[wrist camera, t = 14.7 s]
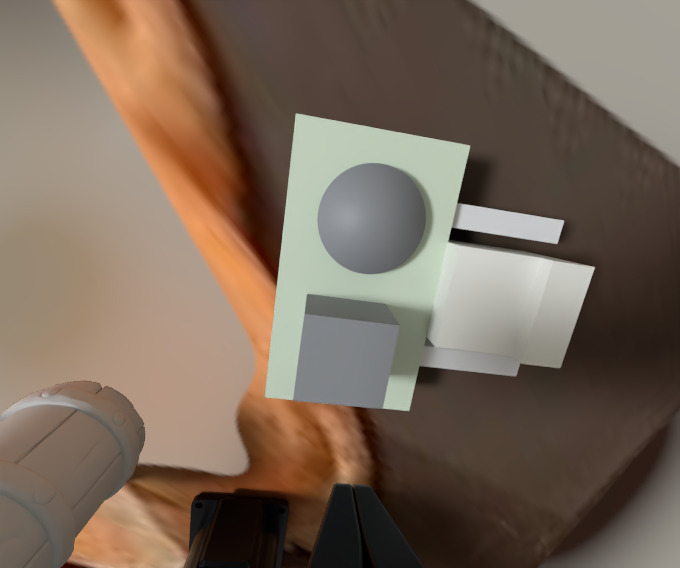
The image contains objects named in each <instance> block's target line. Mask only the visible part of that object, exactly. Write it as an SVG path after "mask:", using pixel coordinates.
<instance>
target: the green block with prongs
mask: <svg viewBox="0 0 680 568" xmlns="http://www.w3.org/2000/svg"><path fill="white" fill-rule="evenodd" d="M469 149H470V145H464V144H459V143H453V142H448V141H442V140H437V139H432V138H426V137H421V136H415V135H410V134H405V133H399V132H394V131H388V130H383V129H377V128H372V127H367V126H361V125H356V124H350V123H345V122H340V121H334V120H329V119H323V118H318V117H312V116H307V115H302V114H296V118H295V128H294V137H293V146H292V155H291V164H290V173H289V182H288V191H287V200H286V209H285V218H284V227H283V236H282V245H281V255H280V264H279V273H278V282H277V291H276V300H275V309H274V318H273V327H272V336H271V345H270V354H269V363H268V373H267V382H266V391H265V397H267V398H278V399H288V400H293V401H303V402H314V403H325V404H335V405H346V406H356V407H367V408H378V409H383V408H384V409H394V410H405V411H409V409H410V405H411V400H412V396H413V392H414V387H415V383H416V379H417V374H418V370H419V366H425V367H435V368H444V369H453V370H462V371H471V372H480V373H489V374H498V375H508V376H516V375H517V372H518V369H519V365H520V362H519V361H517V360H516V359H515V358H514V357H512V356H506V355H498V354H490V353H481V352H473V351H464V350H456V349H447V348H439V347H435V346H434V345H433V344H432V343H431V341H430V340H429V339H428V338H427V337H426V335H427V331H428V327H429V322H430V318H431V314H432V309H433V305H434V301H435V296H436V292H437V288H438V283H439V279H440V275H441V270H442V266H443V262H444V257H445V253H446V249H447V245H448V240H449V236H450V232H451V227H452V228H458V229H465V230H471V231H477V232H484V233H490V234H497V235H503V236H509V237H516V238H522V239H529V240H535V241H541V242H548V243H554V244H557V243H558V240H559V237H560V234H561V230H562V227H563V224H564V221H563V220H557V219H551V218H545V217H539V216H533V215H527V214H520V213H514V212H508V211H502V210H496V209H490V208H484V207H478V206H472V205H466V204H460V203H457V201H458V197H459V193H460V188H461V184H462V180H463V175H464V171H465V167H466V162H467V158H468V154H469Z"/></svg>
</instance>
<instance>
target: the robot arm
mask: <svg viewBox="0 0 680 568" xmlns="http://www.w3.org/2000/svg"><path fill="white" fill-rule="evenodd" d="M199 502H200V503H199ZM288 514H289V502H288V501H287V500H284V499H269V498H253V497H237V496H221V495H205V494H199V495H197V496H195V497H194V500H193V502H192V505H191V523H190V541H189V554H188V557H187V559H186V562H185V565H184V567H183V568H281V563H282V556H283V549H284V542H285V535H286V528H287V521H288ZM307 568H424V566H423V565H422V563H421V562H420V560H419V559H418V557H417V556H416V554H415V553H414V551H413V550H412V548H411V547H410V545H409V544H408V542H407V541H406V539H405V538H404V536H403V535H402V533H401V532H400V530H399V529H398V527H397V526H396V524H395V523H394V521H393V520H392V518H391V516H390V515H389V513H388V512H387V510H386V509H385V507H384V506H383V504H382V503H381V501H380V500H379V498H378V497H377V495H376V494H375V492H374V491H373V489H372V488H371V487H370V486H368V485H353V486H351V485H350V484H339V483H336V484H334V486H333V488H332V491H331V494H330V497H329V501H328V504H327V507H326V510H325V513H324V516H323V519H322V522H321V525H320V529H319V532H318V535H317V538H316V541H315V544H314V547H313V550H312V553H311V556H310V560H309V563H308V566H307Z"/></svg>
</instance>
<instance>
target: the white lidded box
mask: <svg viewBox="0 0 680 568" xmlns="http://www.w3.org/2000/svg"><path fill="white" fill-rule="evenodd" d="M594 269H595V267H592V266H588V265H583V264H579V263H574V262H570V261H566V260H561V259H557V258H552V257H548V256H543V255H539V254H535V253H530V252H526V251H521V250H514V249H507V248H501V247H494V246H488V245H481V244H475V243H468V242H462V241H455V240H448V245H447V249H446V253H445V257H444V262H443V266H442V270H441V275H440V279H439V283H438V288H437V292H436V296H435V301H434V305H433V309H432V314H431V318H430V322H429V327H428V331H427V335H426V337H427V338H428V339H429V340H430V341H431V343H432V344H433V345H434V346H435V347H439V348H447V349H456V350H464V351H473V352H481V353H490V354H498V355H506V356H512V357H514V358H515V359H516V360H517V361H519V362H520V363H521V364H527V365H536V366H545V367H553V368H561V365H562V362H563V359H564V356H565V353H566V350H567V347H568V345H569V342H570V339H571V336H572V333H573V330H574V327H575V324H576V321H577V318H578V315H579V312H580V310H581V307H582V304H583V301H584V298H585V295H586V292H587V289H588V286H589V283H590V280H591V277H592V275H593V272H594Z"/></svg>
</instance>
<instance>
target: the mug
mask: <svg viewBox="0 0 680 568" xmlns="http://www.w3.org/2000/svg"><path fill="white" fill-rule="evenodd" d="M143 425H144V423H143V420H142V419H141V418H140V416H139V415H138V413H137V412H136V410H135V409H134V407H133V405H132V403H131V402H130V401H129V400H128V399H127V398H126V397H125V396H124V395H122V394H121V393H119V392H118V391H116V390H114V389H113V388H110V387H108V386H105V387H104V388H103V389H102V387H101V385H100V384H99V383H96V382H90V381H74V382H67V383H62V384H57V385H54V386H51V387H49V388H48V389H44V390H40V391H37V392H34V393H32V394H30V395H27V396H25V397H24V398H22V399H20V400H19V401H17V402H16V403H14V404H13V405H12V406H10V407H9V408H7V409H6V410H5V411H4V412H3V413H2V414H1V415H0V568H60V567H61V566H63V565H64V564H65V562H66V561H67V560H68V559H69V557H70V556H71V554H72V552H73V550H74V541H75V538H76V537H77V535H78V534H79V533H80V531H81V530H82V529H83V528H84V526H85V525H86V524H87V522H88V521H89V520H90V518H91V517H92V516H93V515H94V513H95V512H96V511H97V509H98V508H99V507H100V506H101V504H102V503H103V502H104V501H105V500H107V499H108V498H110V497H112V496H113V495H114V494H116V493H117V492H118V491H119V490H120V489H121V488H122V487H123V486H124V485H125V483H126V482H127V480H129V478H130V477H131V476H132V475H133V473H134V471H135V468H136V465H137V463H138V459H139V454H140V452H141V450H142V448H143V445H144V441H145V427H143Z"/></svg>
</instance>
